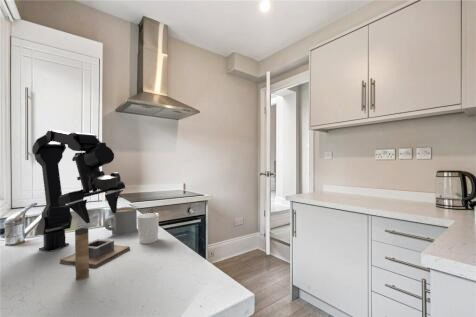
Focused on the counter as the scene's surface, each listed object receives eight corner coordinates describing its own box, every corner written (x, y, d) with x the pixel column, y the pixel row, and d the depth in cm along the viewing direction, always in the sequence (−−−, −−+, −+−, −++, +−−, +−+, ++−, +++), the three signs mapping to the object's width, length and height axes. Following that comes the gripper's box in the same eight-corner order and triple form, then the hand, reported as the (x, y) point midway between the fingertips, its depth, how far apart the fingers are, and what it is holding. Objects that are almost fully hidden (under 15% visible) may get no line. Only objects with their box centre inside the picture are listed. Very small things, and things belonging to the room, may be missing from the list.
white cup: (151, 245, 84) (151, 218, 84) (133, 243, 85) (132, 217, 85) (162, 237, 92) (162, 213, 92) (145, 236, 93) (145, 212, 93)
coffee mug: (131, 226, 108) (131, 205, 108) (140, 231, 101) (140, 208, 101) (100, 233, 98) (99, 210, 98) (107, 239, 91) (107, 214, 91)
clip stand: (59, 262, 70) (59, 250, 70) (98, 245, 84) (98, 235, 84) (95, 267, 66) (95, 254, 67) (129, 249, 80) (129, 238, 80)
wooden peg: (72, 279, 60) (72, 230, 60) (83, 273, 63) (82, 227, 63) (81, 280, 60) (80, 231, 60) (91, 274, 62) (90, 228, 63)
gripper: (75, 168, 60) (91, 224, 60) (130, 161, 78) (142, 205, 78) (50, 178, 64) (65, 230, 64) (108, 169, 82) (119, 210, 82)
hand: (102, 217), depth 72 cm, fingers open, 9 cm apart
